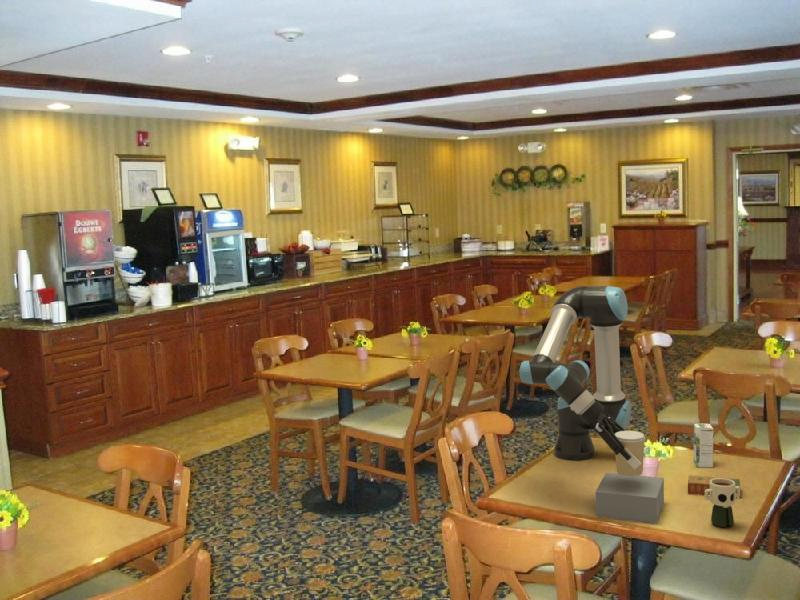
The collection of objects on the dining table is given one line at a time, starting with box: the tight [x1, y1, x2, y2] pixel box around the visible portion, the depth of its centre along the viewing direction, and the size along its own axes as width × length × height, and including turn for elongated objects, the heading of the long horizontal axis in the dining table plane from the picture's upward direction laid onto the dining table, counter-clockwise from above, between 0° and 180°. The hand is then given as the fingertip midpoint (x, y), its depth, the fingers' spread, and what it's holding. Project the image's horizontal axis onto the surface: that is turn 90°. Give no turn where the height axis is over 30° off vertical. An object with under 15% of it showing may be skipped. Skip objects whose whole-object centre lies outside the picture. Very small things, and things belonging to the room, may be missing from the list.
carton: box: [687, 474, 742, 498], centre depth 272 cm, size 8×16×4 cm, turn 70°
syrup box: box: [693, 422, 714, 468], centre depth 298 cm, size 6×6×14 cm
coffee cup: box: [614, 430, 646, 476], centre depth 259 cm, size 9×9×12 cm
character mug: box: [704, 477, 741, 528], centre depth 246 cm, size 11×7×13 cm, turn 98°
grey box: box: [595, 472, 665, 524], centre depth 261 cm, size 18×18×8 cm
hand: (640, 461), depth 258 cm, fingers closed on coffee cup, 9 cm apart
